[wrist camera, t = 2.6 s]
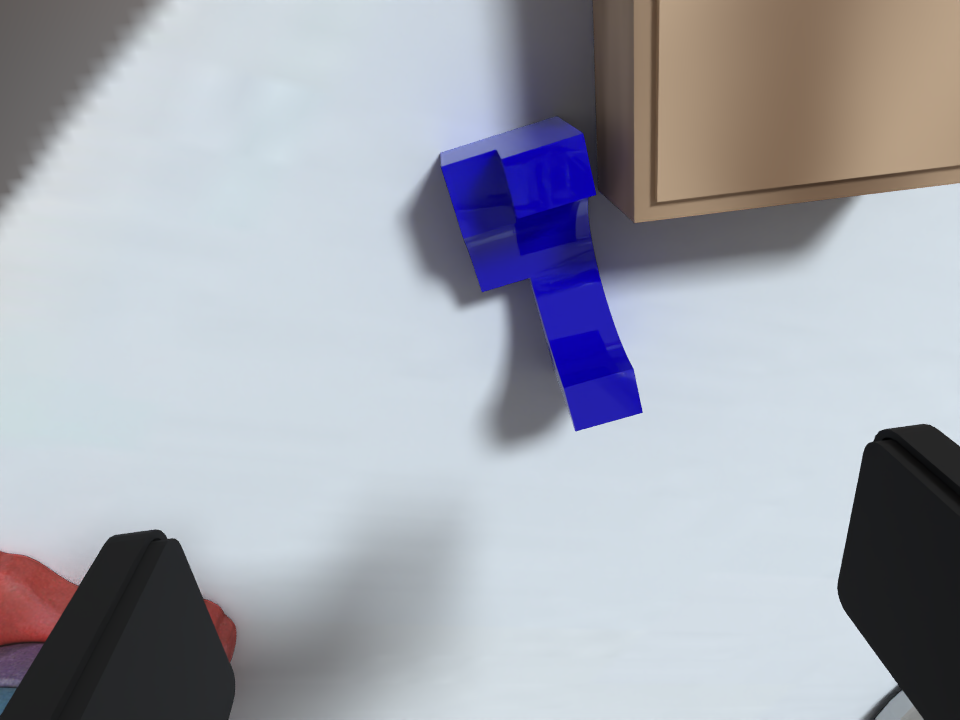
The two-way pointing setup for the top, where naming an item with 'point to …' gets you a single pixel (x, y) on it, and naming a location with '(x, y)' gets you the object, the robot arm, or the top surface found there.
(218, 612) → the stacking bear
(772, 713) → the top surface
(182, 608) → the robot arm
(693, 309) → the top surface
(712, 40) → the plinth
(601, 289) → the cable holder
